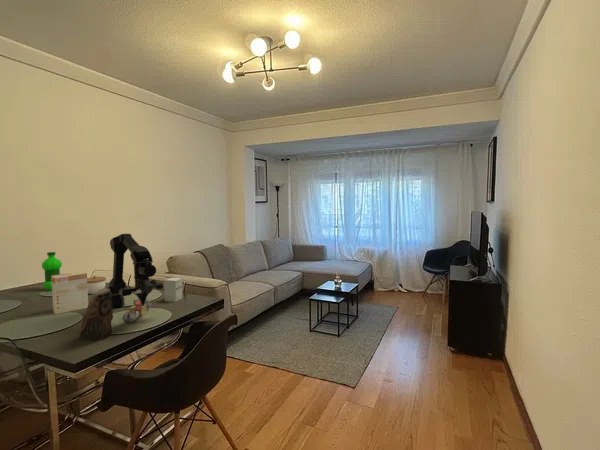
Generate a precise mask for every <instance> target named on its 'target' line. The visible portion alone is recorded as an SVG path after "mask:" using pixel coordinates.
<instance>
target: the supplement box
mask: <svg viewBox="0 0 600 450" xmlns="http://www.w3.org/2000/svg"><path fill="white" fill-rule="evenodd" d="M163 282H164V283H163V285H164V301H165V302H171V303H172V302H173V303H176V302H178V301H180V300H182V299H183V278H182V277H170V278H166V279H165V280H164V281H163Z"/></svg>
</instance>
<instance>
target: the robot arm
mask: <svg viewBox="0 0 600 450" xmlns="http://www.w3.org/2000/svg"><path fill="white" fill-rule="evenodd" d="M109 246H110V249H111V251H112V252H113V269H112V278H111V279H110V281H109V282H108V286H107V287H108V289H110V291H111V293H112V296H111V302H112V303H113V306H112V308H113V309H120V308H122V307H124V305H125V304H126V303H125V297H128V296H131V295H132V294H134V295H135V296H136V297H137V299H139V300H140V302H141V304H142V306H144V304H145V300H146V299H147V297H148V295H149V294H150V293H152V292H153V289H156V290H161V289H164V283H163V282H161V281H157V280H156V279H152V280H150V278H151V277H153V276H155V275H156V273H157V268H156V266H155V265H153V260H154V259H153V257H152V254H151V252H150V250H149V249H148V248H147V247H145V246H142V245H140V244H139V243H138V242H137V241H136V240H135V238H134V237H133V236H132V234H131V233H120V234H119V235H116V236H115V237H112V239H110V241H109ZM127 251H129V252H130V255H129V256H130V258H131V260H132V265H133V271H134V272H133V273H134V274H133V275H134V276H133V279H134V287H132V288H131V287H129V286H127V283H126V282H125V280H124V264H125V262H124V261H125V254H126V252H127Z"/></svg>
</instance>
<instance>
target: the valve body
mask: <svg viewBox="0 0 600 450" xmlns="http://www.w3.org/2000/svg"><path fill="white" fill-rule="evenodd" d="M151 306H152V302H151V300H149V299H147V298H146V300H145V304H144V306H142V309H140V310H136V306H135V305H134V304H133V305H132V306H130V307H129V308H128V311H126V312H125V313H124V314H123V315H122V320H123V322H124V323H125V324H127V325H129V324H132V323H134V322H135V321H136V320H137V319H142V318H144V317H145V316H146V315H147V310H149V309H150V308H151ZM145 314H146V315H145ZM144 315H145V316H144Z"/></svg>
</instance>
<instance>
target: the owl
mask: <svg viewBox="0 0 600 450" xmlns="http://www.w3.org/2000/svg"><path fill="white" fill-rule="evenodd" d="M108 287H109V286H106V285H105V287H104V288H103V289H101V290H99V291H98V292H97V293H96V294H93V296H92V297H91V299H90V300H89V301H88V307H87V308H86V311H85V313H84V317H83V318H82V321H81V327H80V332H79V339H86V340H94V341H102V340H106V339H108V338H109V337H111V334H112V332H113V330H112V329H113V328H112V326H113V325H112V320H113V319H114V313H113V312H114V308H112V306H113V303H112V302H111V296H112V293H111V291H110V289H108Z"/></svg>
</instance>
